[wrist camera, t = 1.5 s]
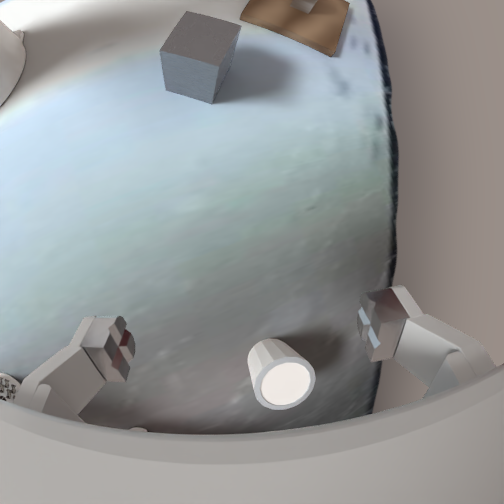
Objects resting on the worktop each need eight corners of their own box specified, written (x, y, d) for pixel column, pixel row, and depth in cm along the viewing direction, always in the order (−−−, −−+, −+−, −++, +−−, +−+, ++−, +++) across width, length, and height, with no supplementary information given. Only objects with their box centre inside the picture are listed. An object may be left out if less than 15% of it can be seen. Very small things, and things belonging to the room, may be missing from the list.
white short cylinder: (305, 353, 36) (327, 377, 29) (269, 389, 35) (284, 419, 29) (269, 323, 35) (286, 344, 28) (231, 362, 34) (240, 391, 27)
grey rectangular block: (166, 90, 30) (159, 50, 21) (186, 54, 30) (186, 11, 21) (211, 104, 31) (218, 66, 22) (229, 67, 31) (241, 26, 22)
